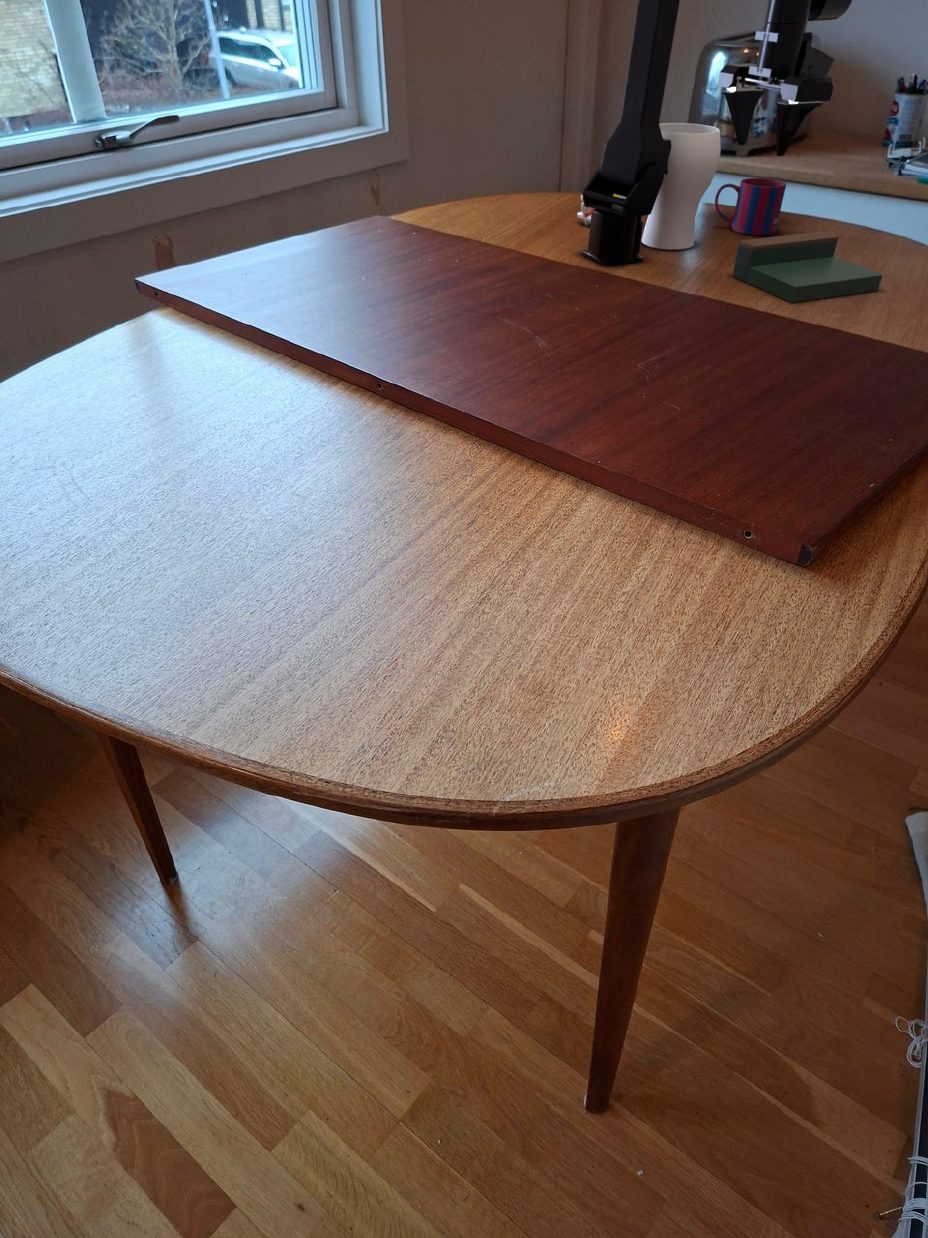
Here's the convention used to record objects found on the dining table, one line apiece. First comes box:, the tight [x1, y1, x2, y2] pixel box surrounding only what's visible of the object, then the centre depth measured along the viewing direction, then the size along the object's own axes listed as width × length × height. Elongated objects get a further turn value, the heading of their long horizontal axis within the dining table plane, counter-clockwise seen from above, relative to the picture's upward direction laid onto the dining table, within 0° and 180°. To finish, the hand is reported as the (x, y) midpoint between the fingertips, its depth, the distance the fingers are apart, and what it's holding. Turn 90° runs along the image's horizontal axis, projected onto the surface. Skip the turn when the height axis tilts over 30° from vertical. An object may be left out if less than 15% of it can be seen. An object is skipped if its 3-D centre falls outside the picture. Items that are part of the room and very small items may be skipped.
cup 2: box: [714, 177, 787, 236], centre depth 131 cm, size 7×10×7 cm
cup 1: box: [641, 122, 722, 251], centre depth 122 cm, size 11×11×15 cm
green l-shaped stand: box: [732, 230, 883, 304], centre depth 110 cm, size 14×12×4 cm
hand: (760, 150), depth 126 cm, fingers open, 9 cm apart
